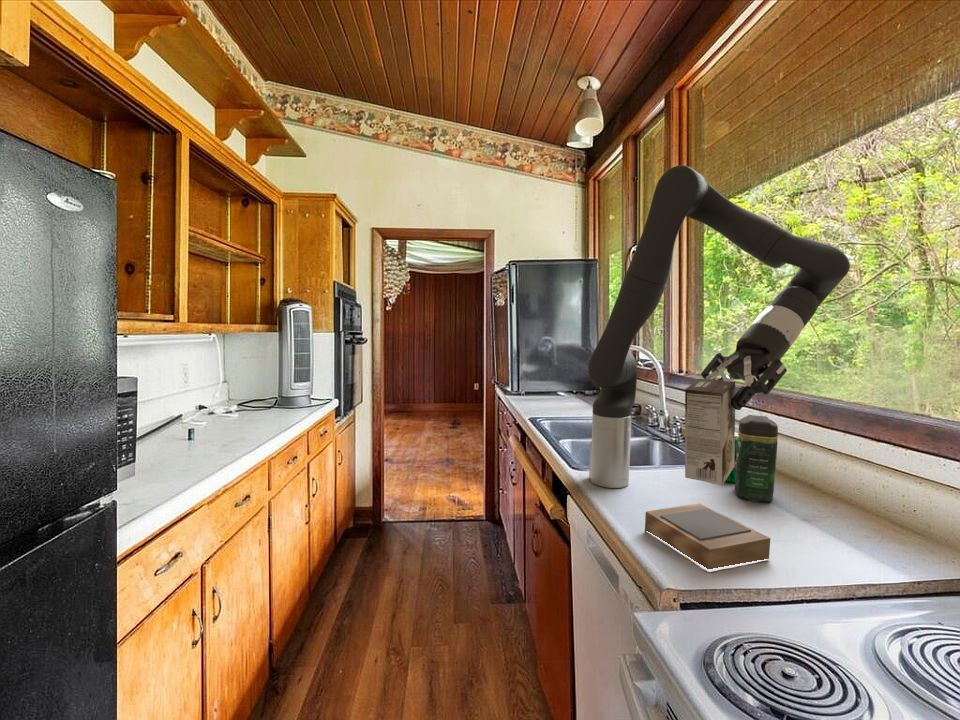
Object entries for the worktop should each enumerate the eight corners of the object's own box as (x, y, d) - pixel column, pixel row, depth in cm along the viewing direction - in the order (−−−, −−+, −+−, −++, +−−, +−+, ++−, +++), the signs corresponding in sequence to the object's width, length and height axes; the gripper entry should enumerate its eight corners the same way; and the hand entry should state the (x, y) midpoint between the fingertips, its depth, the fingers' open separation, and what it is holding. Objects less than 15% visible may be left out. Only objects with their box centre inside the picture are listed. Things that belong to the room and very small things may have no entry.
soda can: (716, 476, 127) (719, 430, 126) (738, 478, 125) (740, 432, 124) (719, 482, 122) (722, 435, 121) (742, 484, 121) (745, 437, 119)
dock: (644, 531, 94) (645, 509, 94) (698, 522, 98) (699, 501, 98) (708, 573, 79) (709, 547, 79) (768, 560, 83) (770, 536, 83)
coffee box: (697, 461, 92) (698, 378, 90) (735, 467, 88) (737, 380, 86) (683, 478, 86) (683, 388, 83) (723, 485, 81) (724, 391, 79)
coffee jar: (775, 505, 107) (781, 422, 106) (735, 499, 111) (740, 419, 109) (771, 491, 116) (776, 414, 114) (733, 486, 119) (738, 411, 118)
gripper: (727, 321, 95) (676, 383, 92) (797, 322, 81) (739, 395, 79) (747, 347, 97) (697, 408, 94) (817, 353, 84) (762, 425, 81)
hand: (716, 402), depth 87 cm, fingers closed on coffee box, 7 cm apart
